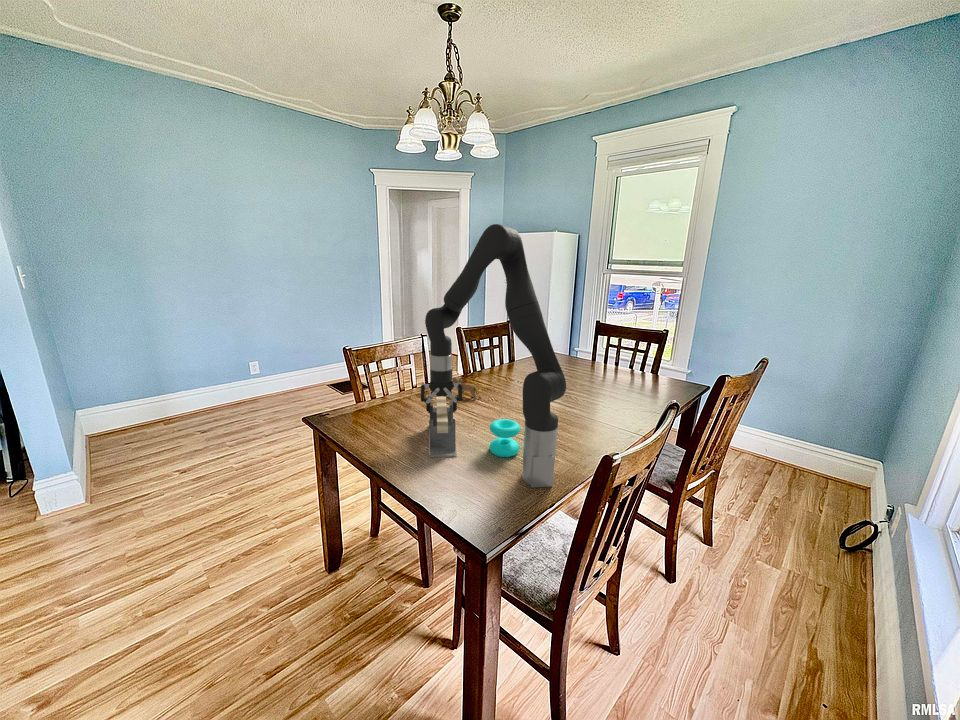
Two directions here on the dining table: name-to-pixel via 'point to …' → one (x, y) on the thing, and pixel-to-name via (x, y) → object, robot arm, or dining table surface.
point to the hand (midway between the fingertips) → (441, 412)
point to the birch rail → (442, 415)
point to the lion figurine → (466, 387)
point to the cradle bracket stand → (442, 435)
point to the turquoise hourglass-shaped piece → (504, 437)
